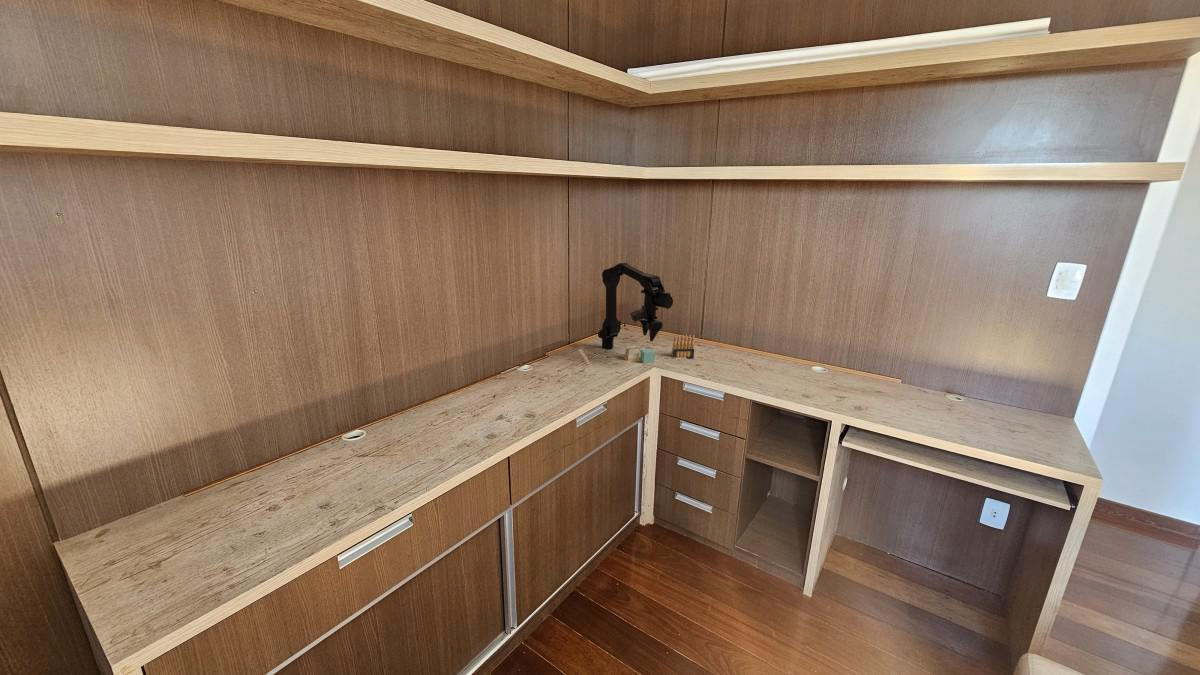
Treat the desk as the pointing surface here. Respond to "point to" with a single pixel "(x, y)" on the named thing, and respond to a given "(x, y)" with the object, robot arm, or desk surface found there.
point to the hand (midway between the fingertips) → (647, 338)
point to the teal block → (647, 356)
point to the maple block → (632, 353)
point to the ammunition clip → (683, 347)
